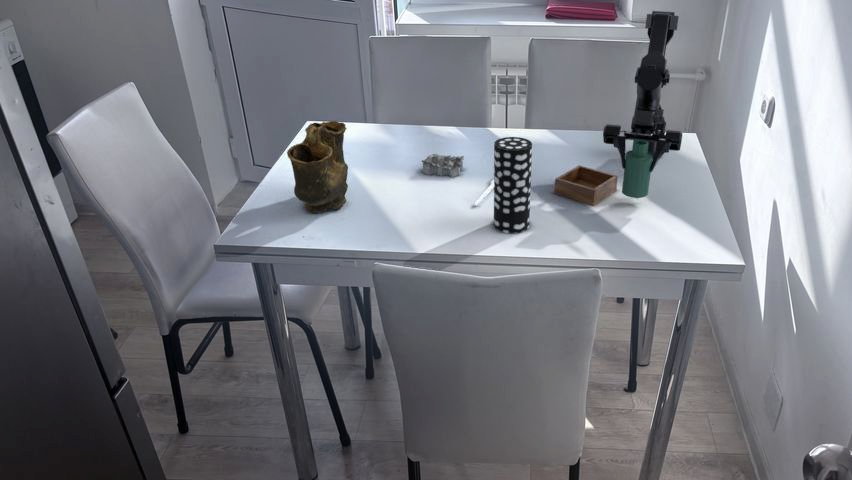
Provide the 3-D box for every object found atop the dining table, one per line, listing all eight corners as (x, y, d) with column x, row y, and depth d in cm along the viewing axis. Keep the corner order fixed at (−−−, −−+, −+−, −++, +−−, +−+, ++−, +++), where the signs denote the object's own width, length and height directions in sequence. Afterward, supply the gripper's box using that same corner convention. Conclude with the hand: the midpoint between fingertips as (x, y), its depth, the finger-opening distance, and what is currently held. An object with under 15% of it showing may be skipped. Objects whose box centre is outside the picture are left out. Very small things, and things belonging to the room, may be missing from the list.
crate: (578, 179, 187) (579, 165, 185) (616, 190, 181) (617, 175, 179) (554, 193, 179) (555, 178, 177) (593, 205, 173) (594, 190, 171)
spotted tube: (533, 220, 166) (536, 139, 155) (523, 235, 159) (525, 152, 149) (500, 215, 168) (501, 135, 158) (488, 230, 161) (488, 147, 151)
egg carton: (420, 174, 189) (419, 160, 187) (429, 164, 195) (428, 150, 193) (458, 178, 187) (457, 163, 184) (465, 167, 193) (465, 153, 191)
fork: (468, 206, 172) (468, 199, 171) (496, 176, 188) (496, 170, 187) (480, 208, 171) (480, 201, 170) (508, 178, 187) (508, 171, 186)
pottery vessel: (317, 182, 183) (307, 108, 173) (358, 183, 183) (351, 109, 173) (288, 225, 162) (275, 143, 152) (335, 227, 162) (325, 145, 151)
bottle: (637, 185, 177) (643, 136, 170) (652, 195, 172) (659, 144, 165) (616, 190, 174) (622, 140, 168) (632, 199, 170) (638, 149, 163)
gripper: (607, 91, 166) (597, 152, 163) (688, 98, 162) (679, 160, 159) (608, 113, 177) (599, 170, 174) (684, 120, 173) (675, 179, 170)
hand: (637, 169), depth 169 cm, fingers closed on bottle, 6 cm apart
